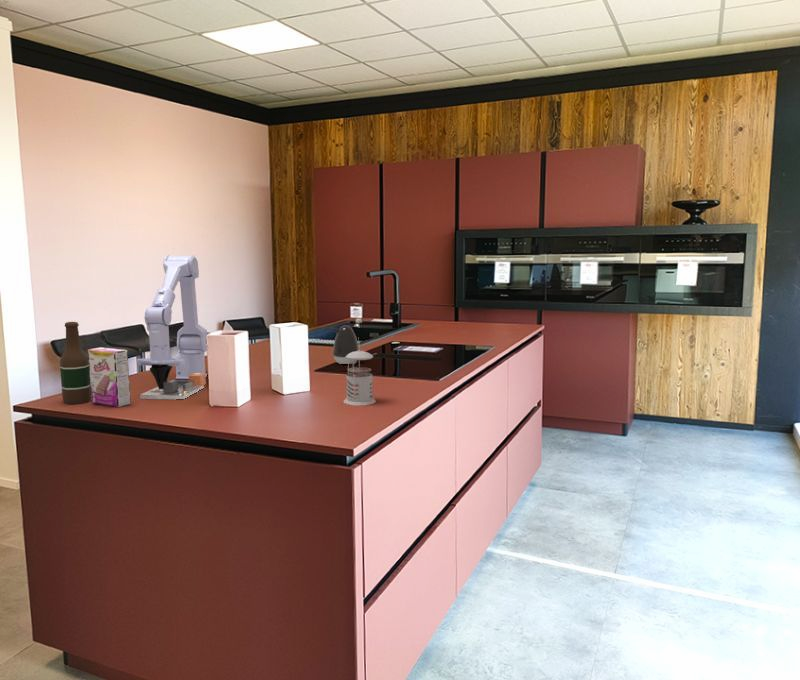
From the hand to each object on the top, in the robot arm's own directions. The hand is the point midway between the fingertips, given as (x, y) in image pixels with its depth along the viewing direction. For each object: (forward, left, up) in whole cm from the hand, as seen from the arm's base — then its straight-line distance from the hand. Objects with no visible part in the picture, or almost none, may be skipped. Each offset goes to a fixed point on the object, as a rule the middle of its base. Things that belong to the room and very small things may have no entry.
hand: (162, 388), depth 203 cm
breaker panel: (+2, +3, -2) cm, 4 cm away
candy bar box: (-10, -12, -2) cm, 16 cm away
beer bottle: (-22, -10, -2) cm, 24 cm away
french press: (+62, 0, -2) cm, 62 cm away
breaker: (+3, 0, -1) cm, 3 cm away
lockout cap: (+5, +14, -2) cm, 16 cm away
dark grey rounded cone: (+46, +60, -2) cm, 76 cm away
